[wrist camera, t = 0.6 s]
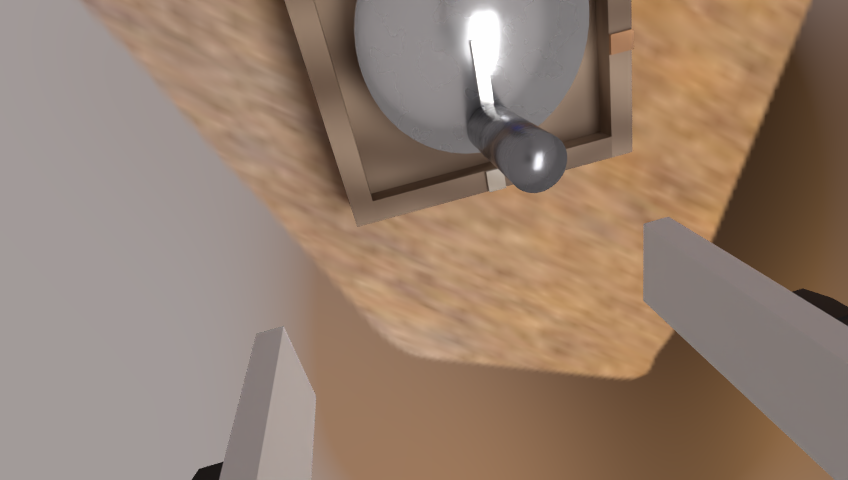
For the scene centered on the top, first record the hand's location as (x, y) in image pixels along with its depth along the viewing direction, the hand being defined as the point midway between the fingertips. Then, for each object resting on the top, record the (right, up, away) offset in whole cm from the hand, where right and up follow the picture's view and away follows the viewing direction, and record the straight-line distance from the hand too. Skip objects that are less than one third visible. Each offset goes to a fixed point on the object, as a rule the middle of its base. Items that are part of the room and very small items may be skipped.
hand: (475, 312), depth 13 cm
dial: (+1, +15, +15) cm, 21 cm away
